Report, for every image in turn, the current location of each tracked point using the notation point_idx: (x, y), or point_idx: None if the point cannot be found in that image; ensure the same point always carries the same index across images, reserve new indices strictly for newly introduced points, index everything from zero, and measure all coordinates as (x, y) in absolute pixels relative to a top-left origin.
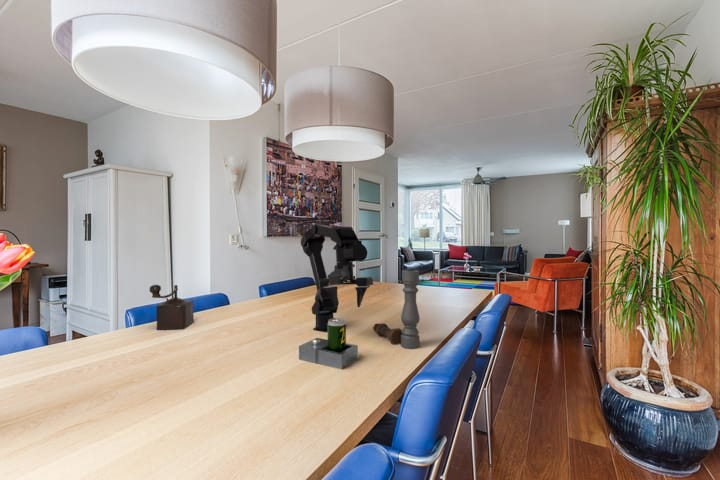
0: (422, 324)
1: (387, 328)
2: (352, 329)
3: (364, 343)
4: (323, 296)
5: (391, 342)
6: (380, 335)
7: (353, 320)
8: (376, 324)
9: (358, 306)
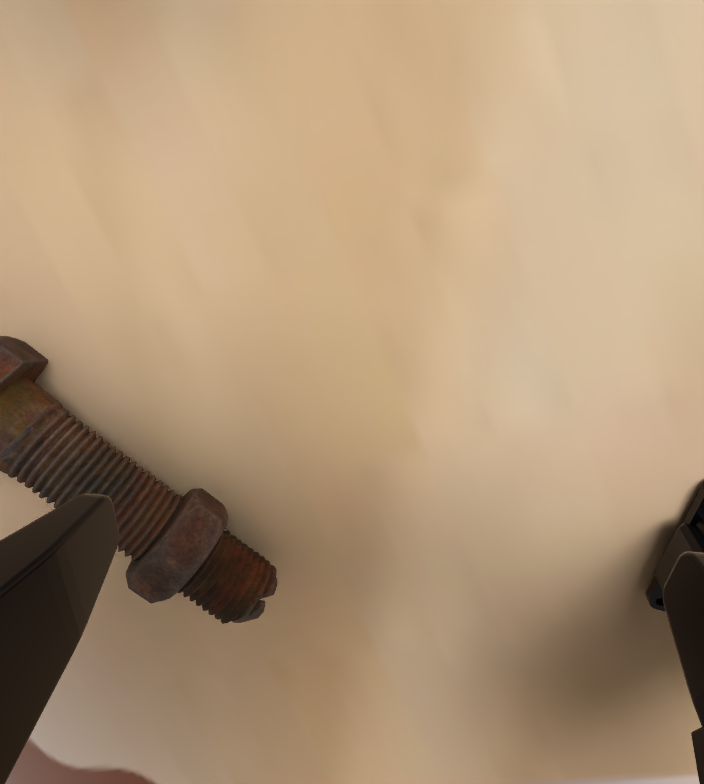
0: (88, 743)
1: None
2: (481, 594)
3: (234, 290)
4: None
5: (26, 348)
6: (191, 490)
7: (549, 771)
8: (236, 604)
9: (78, 498)
